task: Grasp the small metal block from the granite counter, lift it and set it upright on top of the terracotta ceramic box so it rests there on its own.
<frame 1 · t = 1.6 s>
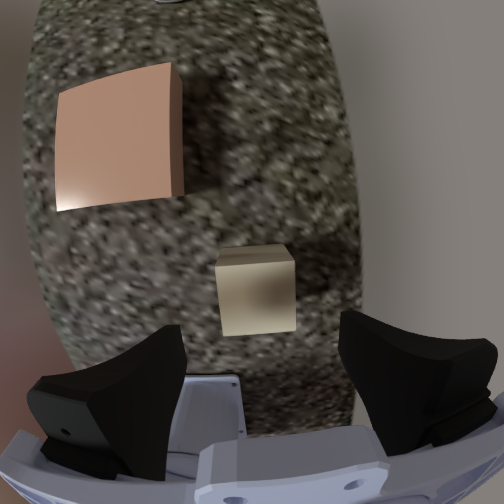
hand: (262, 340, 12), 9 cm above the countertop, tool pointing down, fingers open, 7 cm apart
metal block: (254, 274, 21), on the countertop
terracotta box: (128, 144, 19), on the countertop
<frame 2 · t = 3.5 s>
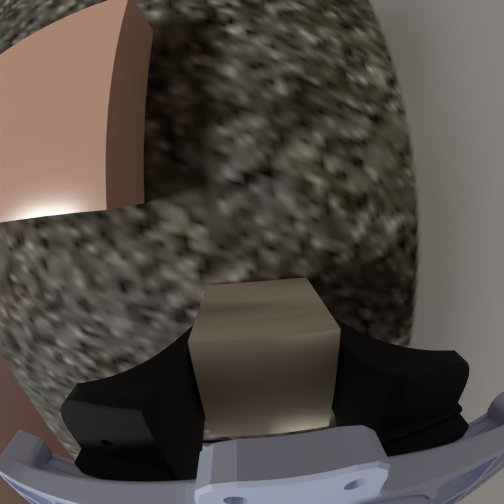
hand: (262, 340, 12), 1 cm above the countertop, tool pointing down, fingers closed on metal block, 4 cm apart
metal block: (260, 325, 13), on the countertop, touching gripper
terracotta box: (71, 125, 11), on the countertop
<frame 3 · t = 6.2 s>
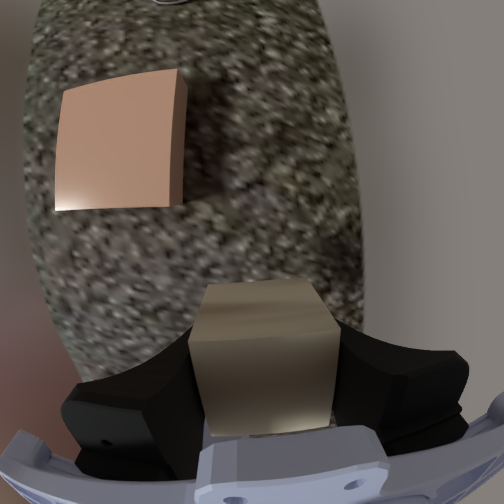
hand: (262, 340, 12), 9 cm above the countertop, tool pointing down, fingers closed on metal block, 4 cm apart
metal block: (260, 325, 13), point 8 cm above the countertop, touching gripper
terracotta box: (130, 147, 19), on the countertop
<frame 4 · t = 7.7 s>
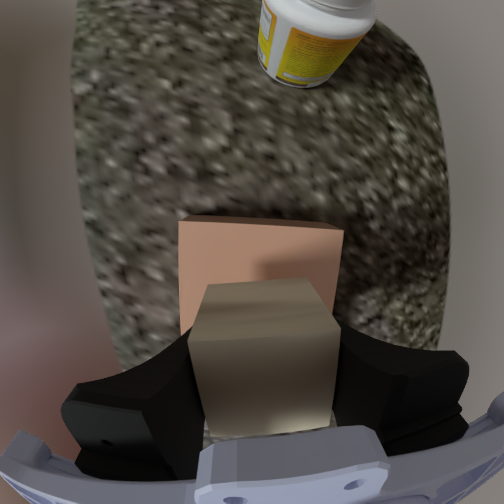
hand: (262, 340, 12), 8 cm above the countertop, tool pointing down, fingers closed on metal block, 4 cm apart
metal block: (260, 324, 13), point 6 cm above the countertop, touching gripper
supplement bottle: (295, 58, 16), on the countertop
terracotta box: (255, 281, 19), on the countertop
when the fingers open (6 cm above the countertop, at t = 8.8 s): metal block drops 1 cm, point 4 cm above the countertop.
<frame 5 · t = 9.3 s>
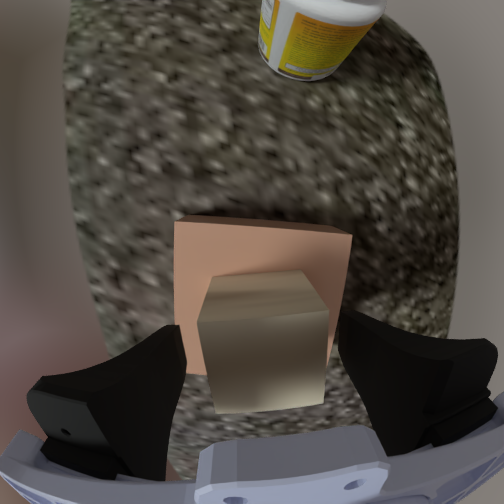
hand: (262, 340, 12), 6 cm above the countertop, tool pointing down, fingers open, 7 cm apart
metal block: (259, 313, 14), point 4 cm above the countertop
supplement bottle: (298, 51, 15), on the countertop
terracotta box: (255, 286, 18), on the countertop
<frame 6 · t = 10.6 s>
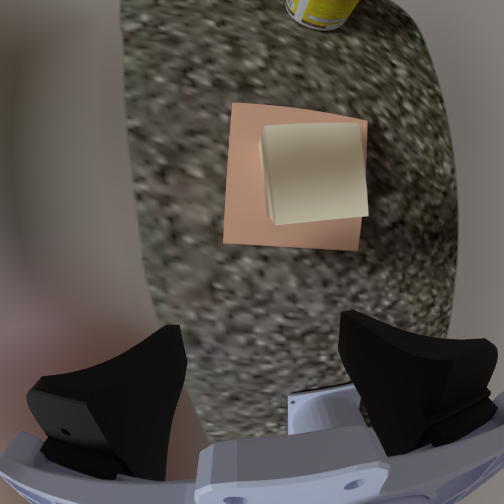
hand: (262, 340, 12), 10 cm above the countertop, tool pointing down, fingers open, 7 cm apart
metal block: (298, 175, 17), point 4 cm above the countertop, touching terracotta box
supplement bottle: (314, 12, 17), on the countertop
terracotta box: (289, 178, 20), on the countertop, touching metal block
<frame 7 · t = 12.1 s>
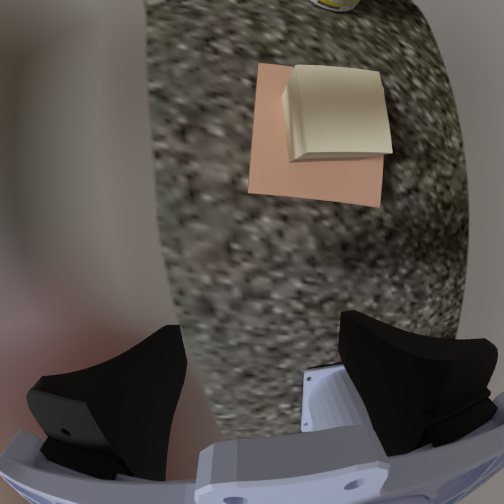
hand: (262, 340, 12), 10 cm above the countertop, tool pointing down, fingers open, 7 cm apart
metal block: (319, 127, 16), point 4 cm above the countertop, touching terracotta box
terracotta box: (309, 141, 20), on the countertop, touching metal block
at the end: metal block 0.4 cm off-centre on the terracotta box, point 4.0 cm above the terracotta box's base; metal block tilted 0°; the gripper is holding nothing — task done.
